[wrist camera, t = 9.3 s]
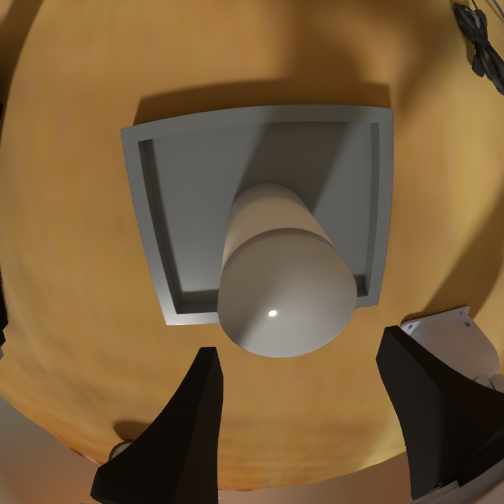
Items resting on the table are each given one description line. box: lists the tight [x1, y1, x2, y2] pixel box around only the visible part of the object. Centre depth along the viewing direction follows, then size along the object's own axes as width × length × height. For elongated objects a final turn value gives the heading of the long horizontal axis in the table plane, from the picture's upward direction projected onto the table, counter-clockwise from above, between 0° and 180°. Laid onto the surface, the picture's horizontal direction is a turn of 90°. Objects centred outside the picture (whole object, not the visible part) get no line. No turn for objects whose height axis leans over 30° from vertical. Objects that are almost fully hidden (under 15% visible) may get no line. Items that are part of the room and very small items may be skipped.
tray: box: [120, 104, 393, 325], centre depth 17 cm, size 16×14×2 cm
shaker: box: [217, 182, 357, 358], centre depth 14 cm, size 5×5×9 cm
